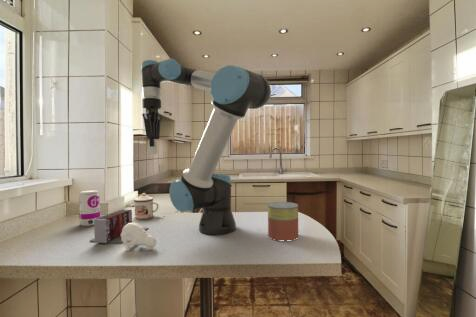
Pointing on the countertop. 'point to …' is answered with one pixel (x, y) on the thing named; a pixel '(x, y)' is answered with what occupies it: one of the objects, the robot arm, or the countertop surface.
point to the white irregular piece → (136, 237)
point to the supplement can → (89, 207)
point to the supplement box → (111, 225)
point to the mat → (116, 239)
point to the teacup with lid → (144, 207)
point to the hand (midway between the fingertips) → (153, 154)
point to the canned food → (283, 220)
